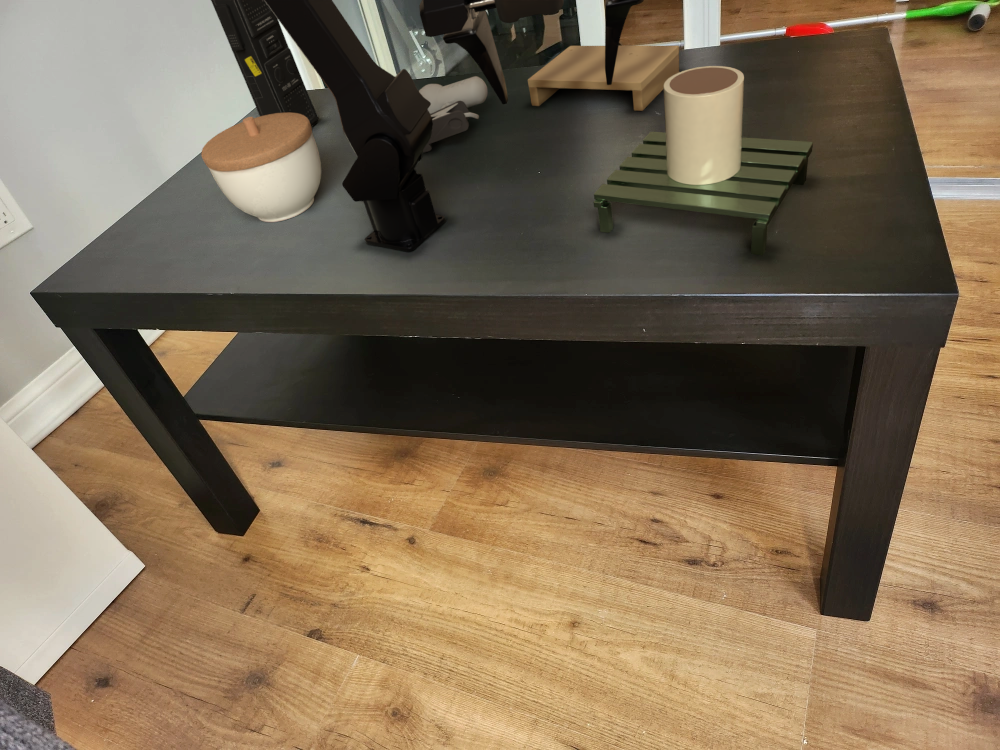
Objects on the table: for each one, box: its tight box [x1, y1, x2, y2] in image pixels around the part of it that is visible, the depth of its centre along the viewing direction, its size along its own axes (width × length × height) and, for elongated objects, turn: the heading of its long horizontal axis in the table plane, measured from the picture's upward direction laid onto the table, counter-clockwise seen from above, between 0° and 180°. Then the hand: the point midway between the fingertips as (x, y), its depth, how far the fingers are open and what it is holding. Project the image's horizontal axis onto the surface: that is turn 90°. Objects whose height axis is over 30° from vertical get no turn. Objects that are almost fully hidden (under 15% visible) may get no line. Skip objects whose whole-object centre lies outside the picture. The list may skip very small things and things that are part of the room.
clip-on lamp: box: [418, 75, 489, 153], centre depth 93 cm, size 12×6×18 cm
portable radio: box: [210, 0, 320, 127], centre depth 97 cm, size 8×6×25 cm
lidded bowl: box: [200, 113, 322, 223], centre depth 82 cm, size 13×13×11 cm
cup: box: [663, 65, 745, 185], centre depth 63 cm, size 7×7×8 cm
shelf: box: [527, 45, 680, 112], centre depth 93 cm, size 16×12×4 cm
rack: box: [592, 131, 814, 256], centre depth 67 cm, size 16×14×4 cm
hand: (556, 93), depth 62 cm, fingers open, 9 cm apart
